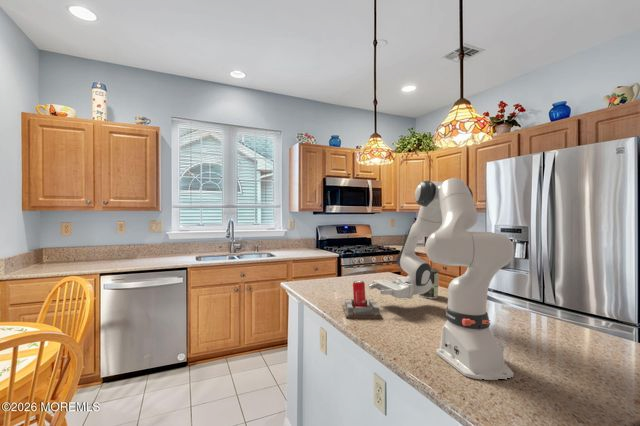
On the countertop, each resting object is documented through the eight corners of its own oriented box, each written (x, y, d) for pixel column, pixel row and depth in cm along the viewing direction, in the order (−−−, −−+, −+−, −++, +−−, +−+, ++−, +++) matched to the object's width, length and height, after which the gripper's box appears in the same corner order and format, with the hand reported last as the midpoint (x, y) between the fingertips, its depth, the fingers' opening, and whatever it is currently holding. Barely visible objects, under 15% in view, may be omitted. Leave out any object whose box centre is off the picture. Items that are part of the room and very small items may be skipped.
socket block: (381, 318, 130) (382, 309, 130) (346, 318, 130) (346, 308, 130) (374, 307, 145) (374, 298, 145) (342, 306, 145) (342, 298, 144)
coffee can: (425, 299, 159) (426, 271, 159) (413, 294, 169) (414, 268, 169) (442, 298, 162) (443, 271, 162) (429, 292, 172) (430, 267, 172)
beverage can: (357, 310, 135) (356, 283, 136) (352, 308, 140) (350, 281, 141) (368, 309, 137) (366, 281, 138) (362, 306, 142) (360, 279, 143)
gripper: (387, 275, 155) (363, 277, 150) (415, 285, 136) (389, 288, 131) (386, 288, 155) (363, 290, 150) (414, 299, 137) (388, 302, 131)
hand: (375, 289), depth 140 cm, fingers open, 8 cm apart
